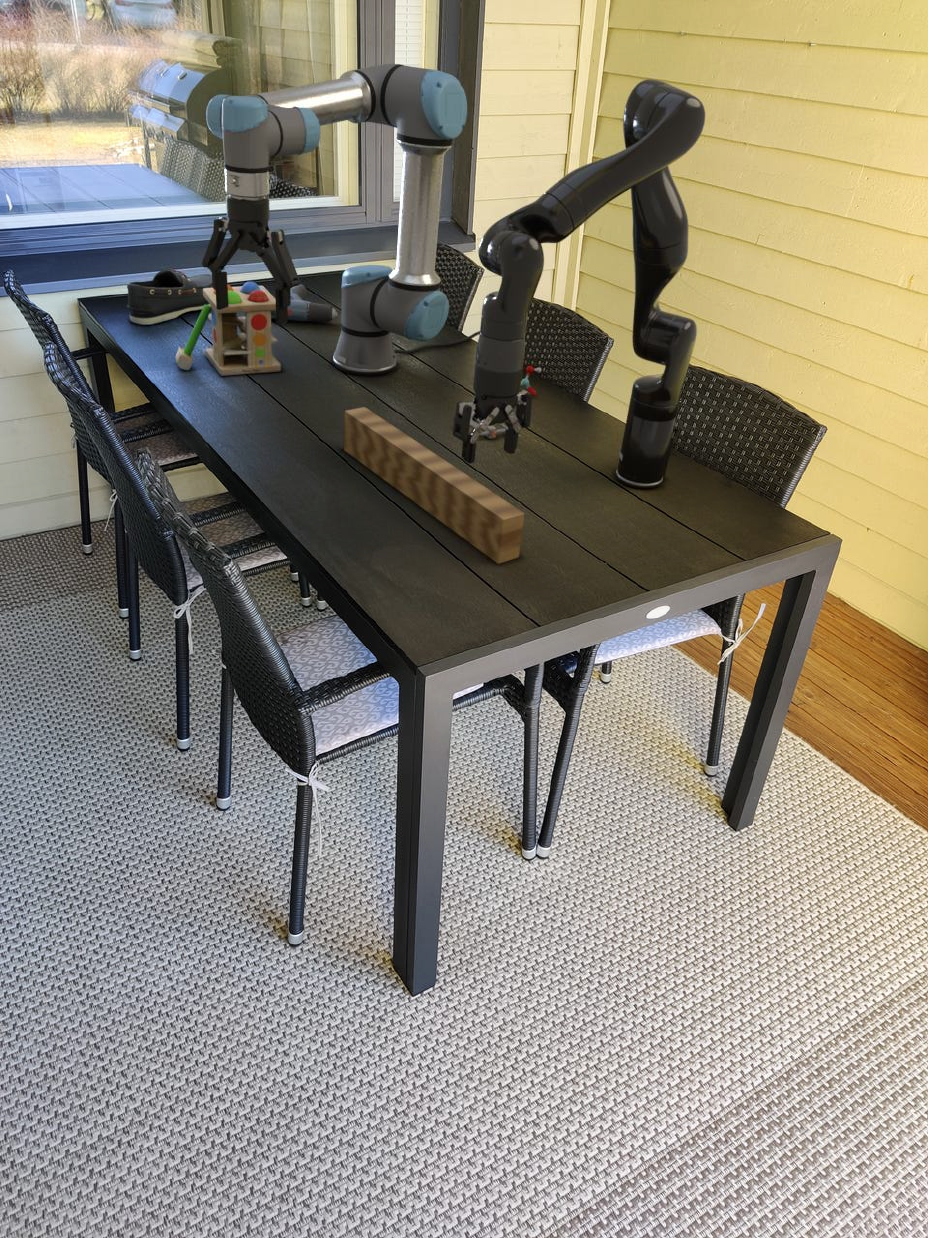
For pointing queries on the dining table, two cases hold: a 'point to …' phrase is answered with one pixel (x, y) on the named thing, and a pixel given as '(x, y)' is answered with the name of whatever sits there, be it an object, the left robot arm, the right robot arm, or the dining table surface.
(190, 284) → the boat shoe
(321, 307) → the power drill
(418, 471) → the bar
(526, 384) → the molecular model
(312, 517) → the dining table surface
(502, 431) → the clamp
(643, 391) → the right robot arm
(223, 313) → the pounding bench toy
